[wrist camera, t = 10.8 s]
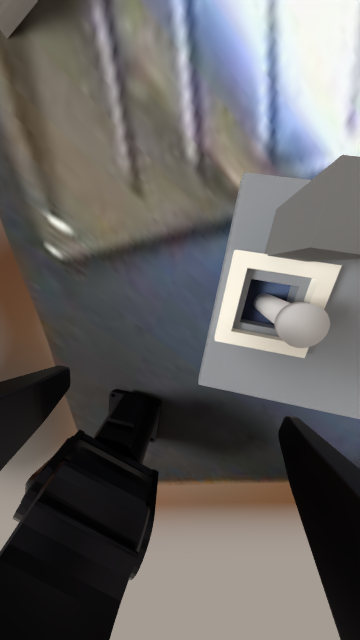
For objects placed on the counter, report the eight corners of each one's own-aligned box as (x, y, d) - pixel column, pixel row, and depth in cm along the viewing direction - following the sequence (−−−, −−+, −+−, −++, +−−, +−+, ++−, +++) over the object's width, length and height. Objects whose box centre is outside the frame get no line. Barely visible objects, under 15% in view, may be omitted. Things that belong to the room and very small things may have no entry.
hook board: (356, 409, 19) (448, 495, 12) (198, 376, 21) (195, 435, 13) (467, 208, 14) (767, 141, 6) (240, 181, 15) (273, 101, 8)
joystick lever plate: (298, 353, 17) (360, 409, 10) (214, 336, 17) (220, 379, 11) (351, 218, 13) (494, 170, 7) (244, 204, 14) (279, 148, 7)
